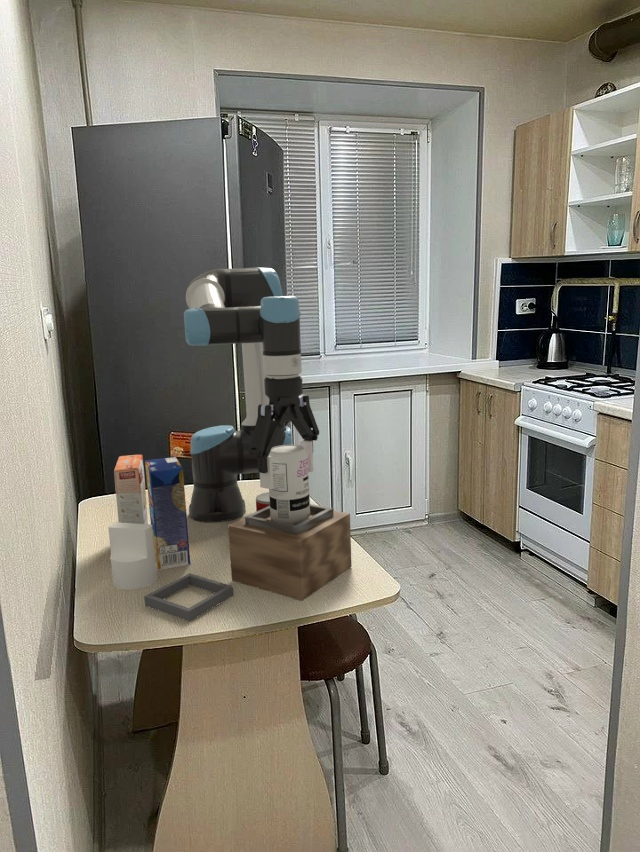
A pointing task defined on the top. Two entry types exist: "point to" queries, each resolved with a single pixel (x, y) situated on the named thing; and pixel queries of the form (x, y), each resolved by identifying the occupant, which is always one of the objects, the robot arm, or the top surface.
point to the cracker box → (130, 490)
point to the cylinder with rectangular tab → (132, 555)
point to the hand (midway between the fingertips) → (287, 479)
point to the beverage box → (168, 512)
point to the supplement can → (289, 484)
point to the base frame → (220, 595)
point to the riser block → (290, 551)
